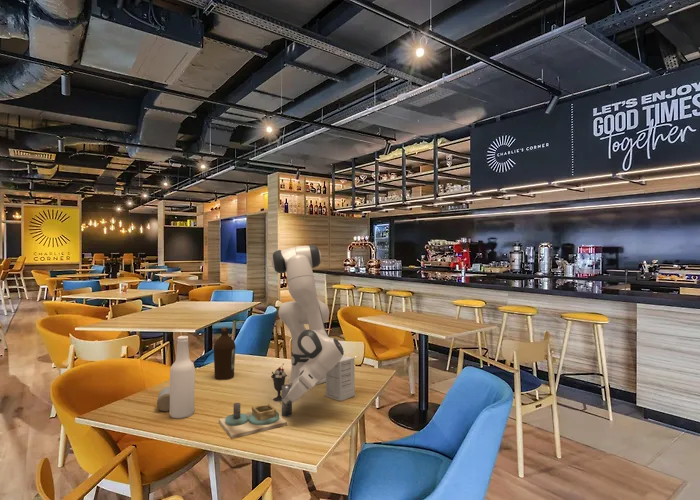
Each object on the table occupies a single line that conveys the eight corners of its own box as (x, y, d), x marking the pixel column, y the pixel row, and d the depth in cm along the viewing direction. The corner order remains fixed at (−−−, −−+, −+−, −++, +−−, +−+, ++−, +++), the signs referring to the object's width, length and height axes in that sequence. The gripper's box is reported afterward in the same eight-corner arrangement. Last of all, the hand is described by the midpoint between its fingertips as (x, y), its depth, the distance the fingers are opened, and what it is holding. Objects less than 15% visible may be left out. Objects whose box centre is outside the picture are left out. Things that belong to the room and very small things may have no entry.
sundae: (289, 397, 171) (289, 362, 171) (282, 402, 165) (282, 366, 165) (276, 395, 173) (276, 361, 173) (268, 401, 167) (268, 365, 167)
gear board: (270, 410, 156) (270, 392, 156) (286, 425, 143) (286, 404, 143) (218, 422, 145) (218, 402, 145) (231, 439, 132) (231, 416, 132)
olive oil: (212, 381, 193) (212, 330, 194) (214, 374, 204) (215, 326, 204) (234, 379, 196) (234, 329, 196) (235, 373, 206) (236, 325, 206)
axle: (289, 411, 155) (289, 383, 155) (293, 415, 152) (293, 386, 152) (279, 413, 153) (280, 385, 153) (284, 417, 150) (284, 388, 150)
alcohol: (178, 421, 146) (179, 339, 147) (164, 416, 151) (165, 337, 151) (199, 413, 154) (199, 335, 154) (185, 408, 158) (185, 333, 159)
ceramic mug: (156, 413, 153) (156, 393, 153) (158, 406, 161) (158, 387, 161) (185, 410, 157) (186, 391, 157) (186, 403, 165) (187, 384, 165)
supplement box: (355, 396, 173) (355, 357, 173) (340, 401, 166) (340, 361, 166) (339, 391, 179) (339, 353, 180) (325, 396, 173) (325, 357, 173)
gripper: (308, 361, 163) (284, 384, 163) (300, 376, 142) (273, 402, 143) (319, 372, 163) (295, 395, 163) (312, 388, 142) (285, 415, 142)
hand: (285, 399), depth 152 cm, fingers closed on axle, 4 cm apart
